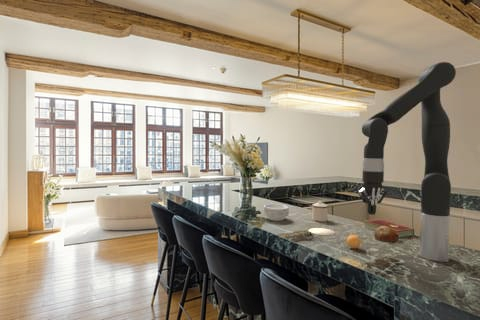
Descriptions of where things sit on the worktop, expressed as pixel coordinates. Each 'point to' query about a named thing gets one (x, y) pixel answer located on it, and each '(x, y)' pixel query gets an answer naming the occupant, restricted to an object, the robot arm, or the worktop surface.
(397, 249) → the worktop surface
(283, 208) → the paper bowls
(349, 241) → the ball
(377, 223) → the hardcover book
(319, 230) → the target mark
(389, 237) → the bread roll
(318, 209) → the teacup with lid
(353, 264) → the worktop surface
